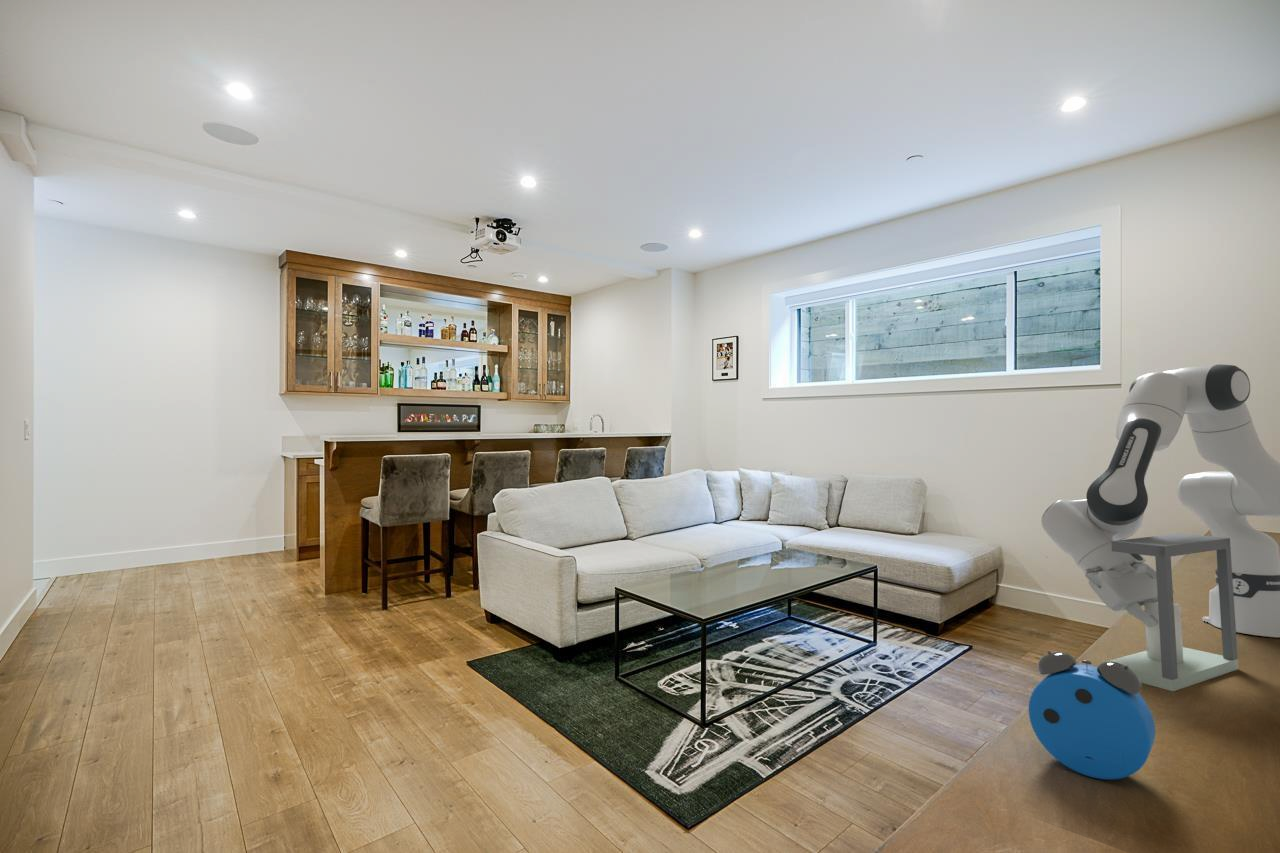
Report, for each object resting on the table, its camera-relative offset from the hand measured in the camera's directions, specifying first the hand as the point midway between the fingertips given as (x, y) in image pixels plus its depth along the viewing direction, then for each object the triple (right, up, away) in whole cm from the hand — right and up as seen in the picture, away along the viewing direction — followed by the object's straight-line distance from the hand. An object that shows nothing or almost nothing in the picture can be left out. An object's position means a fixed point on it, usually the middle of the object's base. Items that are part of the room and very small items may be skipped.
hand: (1166, 622), depth 119 cm
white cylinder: (0, -7, 0) cm, 7 cm away
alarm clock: (-45, -7, -39) cm, 60 cm away
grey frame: (0, -9, -1) cm, 9 cm away
